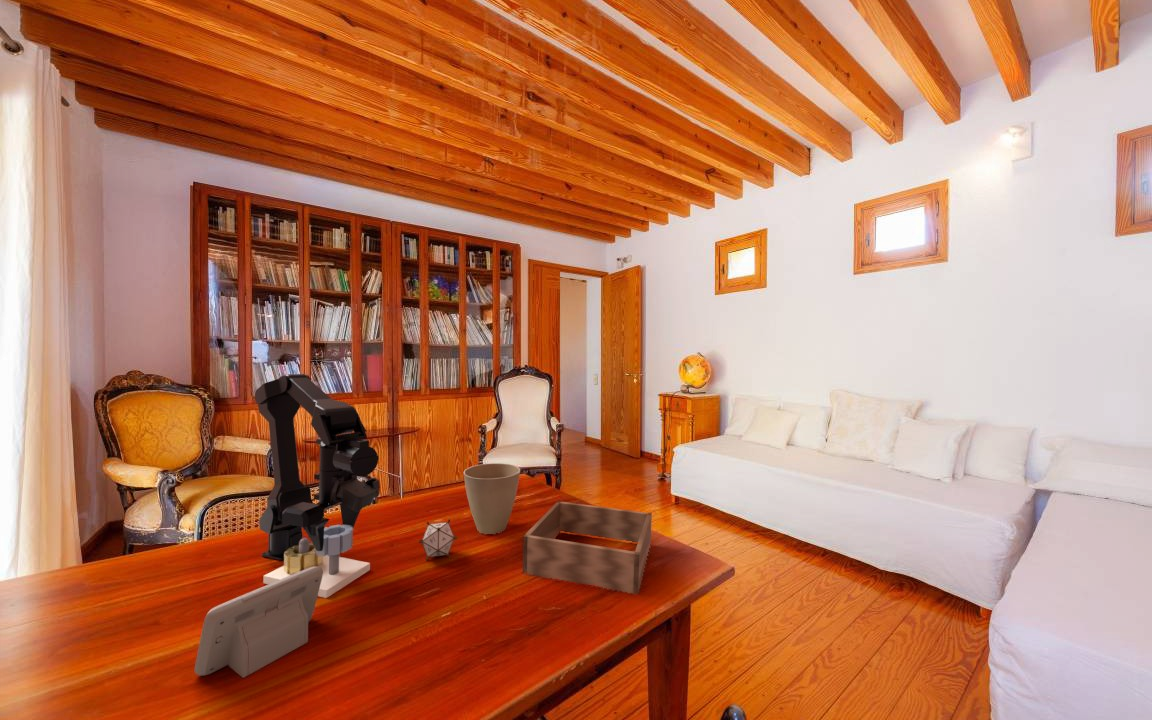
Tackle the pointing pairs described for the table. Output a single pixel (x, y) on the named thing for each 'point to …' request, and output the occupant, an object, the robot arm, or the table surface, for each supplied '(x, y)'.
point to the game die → (438, 539)
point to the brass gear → (301, 559)
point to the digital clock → (259, 625)
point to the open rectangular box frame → (589, 546)
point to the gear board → (327, 571)
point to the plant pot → (491, 494)
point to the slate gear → (336, 540)
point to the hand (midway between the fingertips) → (334, 543)
